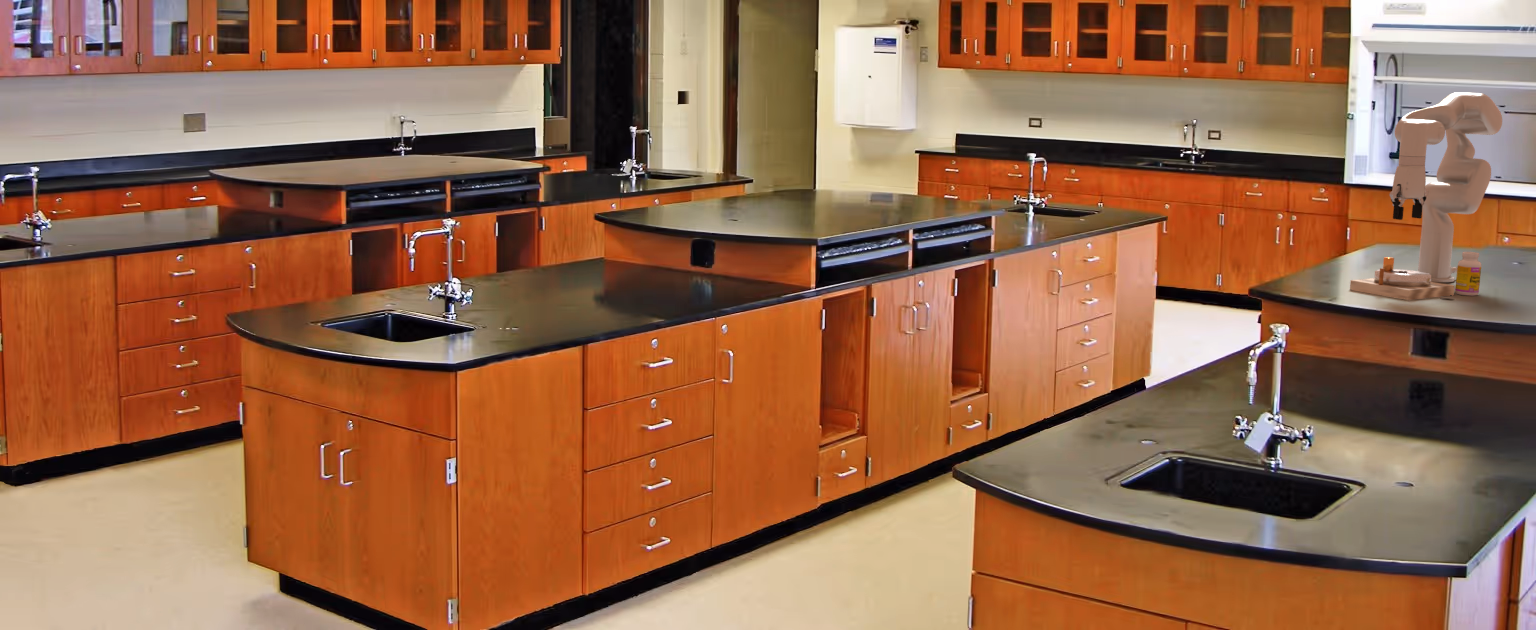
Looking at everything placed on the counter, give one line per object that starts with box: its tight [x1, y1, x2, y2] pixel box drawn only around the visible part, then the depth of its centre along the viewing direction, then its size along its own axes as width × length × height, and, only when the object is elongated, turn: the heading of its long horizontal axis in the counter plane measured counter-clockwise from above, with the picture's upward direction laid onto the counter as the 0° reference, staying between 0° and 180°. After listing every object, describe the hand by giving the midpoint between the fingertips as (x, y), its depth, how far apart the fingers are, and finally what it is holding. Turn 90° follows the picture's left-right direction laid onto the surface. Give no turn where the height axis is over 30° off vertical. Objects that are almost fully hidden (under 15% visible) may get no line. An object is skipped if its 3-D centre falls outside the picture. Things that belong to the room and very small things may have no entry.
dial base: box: [1349, 267, 1455, 301], centre depth 475 cm, size 21×21×8 cm
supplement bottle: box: [1454, 251, 1482, 297], centre depth 473 cm, size 7×7×13 cm
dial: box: [1373, 256, 1431, 287], centre depth 474 cm, size 16×16×7 cm
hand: (1407, 218), depth 480 cm, fingers open, 8 cm apart
